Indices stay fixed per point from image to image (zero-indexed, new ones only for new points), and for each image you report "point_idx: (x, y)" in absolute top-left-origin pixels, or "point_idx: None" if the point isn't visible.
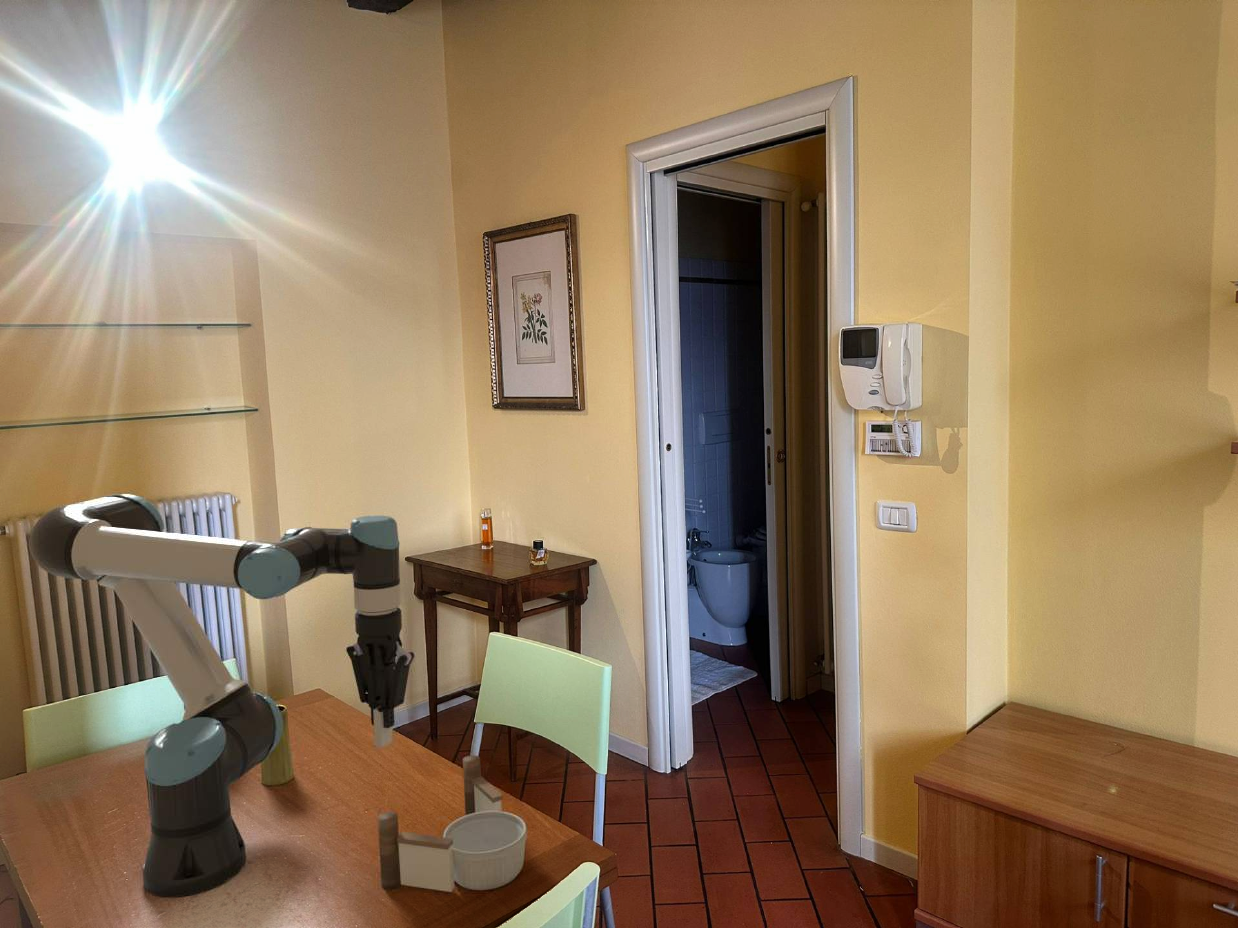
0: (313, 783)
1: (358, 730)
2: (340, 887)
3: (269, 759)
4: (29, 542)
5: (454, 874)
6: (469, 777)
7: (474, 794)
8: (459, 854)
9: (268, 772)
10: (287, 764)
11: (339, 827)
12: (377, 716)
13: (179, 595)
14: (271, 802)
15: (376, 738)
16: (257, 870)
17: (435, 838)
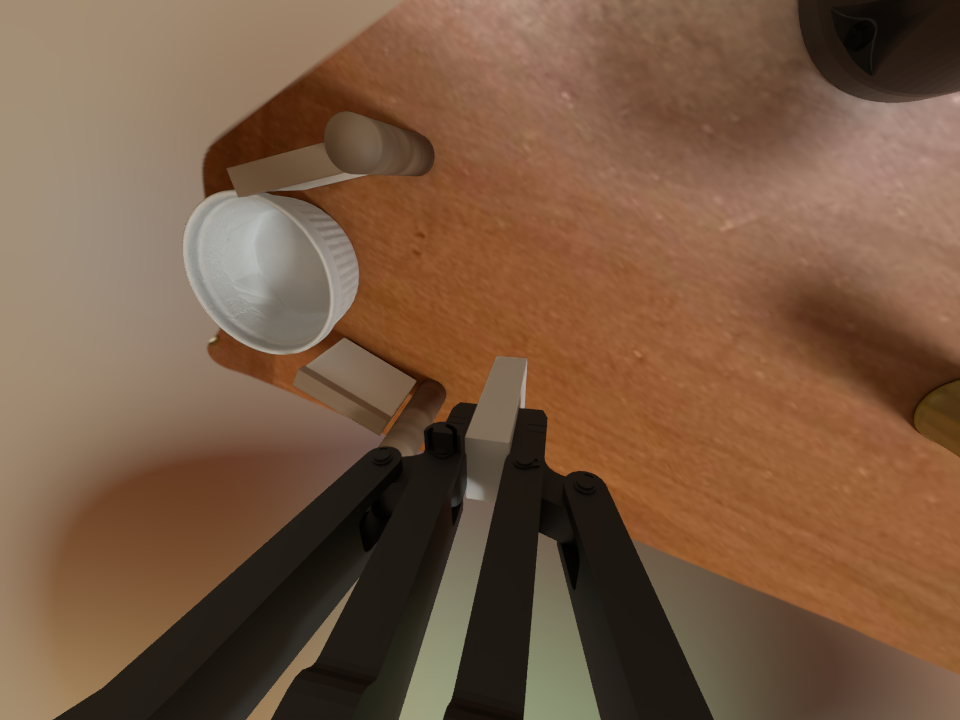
0: (838, 413)
1: (856, 602)
2: (499, 90)
3: None
4: None
5: (301, 201)
6: (397, 426)
7: (398, 405)
8: None
9: None
10: (956, 432)
11: (657, 284)
12: (488, 420)
13: None
14: (909, 317)
15: (514, 371)
16: (747, 42)
17: (266, 179)
